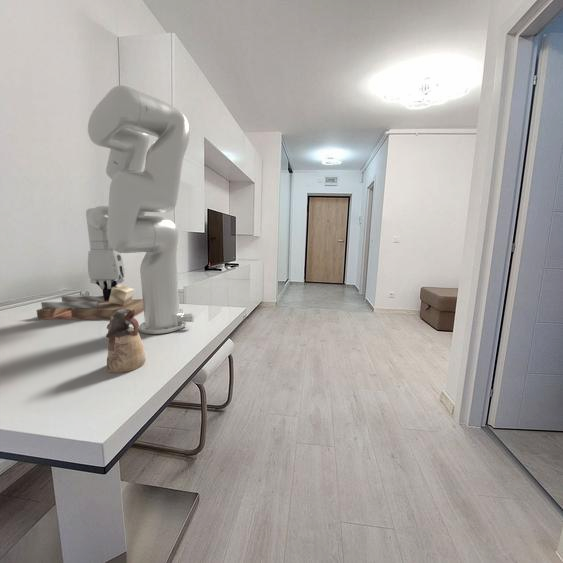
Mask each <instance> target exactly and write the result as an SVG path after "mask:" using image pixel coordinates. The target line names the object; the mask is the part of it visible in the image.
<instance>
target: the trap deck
mask: <svg viewBox="0 0 563 563" xmlns="http://www.w3.org/2000/svg"><path fill="white" fill-rule="evenodd" d="M40 304H41V308H39V309H36V317H37V320H79V319H80V320H92V319H93V320H94V319H95V320H97V319H98V320H100V319H102V320H103V319H109V320H110V318H111V316H112V315H113V314H114V313H115V312H116V311H118V310H121V309H124V310H126V311H127V313H128V312H129V311H130V310H131V309H133V310H135V312H136V313H135V314H134V316H133V318H135V317H136V316H138V315H139V314H142V313H144V307H143V298H141V299H139V298H136V299H135V298H134V299H133V298H132V300H131V302H130V303H128V304H126V305H124V306H122V305H119V304H115V303H112V302H109V301H108V300H107V301H104V297H103V295H61V301H42V302H41V303H40Z"/></svg>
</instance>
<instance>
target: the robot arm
mask: <svg viewBox="0 0 563 563" xmlns="http://www.w3.org/2000/svg"><path fill="white" fill-rule="evenodd" d="M87 134H88V136H89V139H90V141H91V143H93V144H94V145H97V146H99V147H103V148H106V149H110V150H109V154H108V160H107V162H106V163H107V164H106V168H105V171H106V172H105V173H106V175H107V177H109V179H111V182H110V185H109V192H108V194H109V195H108V205H98V206H95V207H90V208H88V209H86V211H85V218H86V226H87V232H88V233H87V234H88V240H89V251H88V254H87V271H88V272H87V274H88V278H89V281H90V283H91V284H95V285H97V287H99V288H100V290H102V296H103V297H104V301H107V300H108V301H109V298H110V293H111V289H112V287H115V286H118V285H120V284H123V283H124V282H125V280H124V278H125V277H126V271H125V265H124V260H123V257H122V254H135V253H145V254H144V257H143V258H142V259H141V263H140V267H139V268H140V269H139V270H140V273H139V274H140V283H141V284H140V285H141V292H142V293H141V294H142V299H143V307H144V311H143V315H144V316H143V317H144V322H142V323H140V325H139V329H138V330H139V331H140V332H141V333H144V334H147V335H157V334H158V335H159V334H160V335H161V334H166V333H167V334H168V333H173V332H177V331H179V330H181V329H183V328H184V327H186V325H187V323H193V322H195V315H194V314H192V313H184V310H183V308H182V309H181V308H180V299H179V298H180V297H179V295H180V294H179V285H178V282H179V281H178V268H177V266H178V265H177V251H178V243H179V231H178V230H179V229H178V227H177V225H176V223H175V222H173V221H172V220H171V219H170V218H168V217H164V216H158V215H146V213H171V212H172V211H173V210H174V209H175V208H176V206H177V203H178V197H179V191H180V190H179V189H180V183H181V177H182V168H183V167H182V166H183V162H184V158H185V155H186V151H187V149H188V145H189V141H190V135H191V134H190V125H189V121H188V119H187V117H186V115H184V113H183V112H182V111H180V109H178V108H177V107H176V106H173V105H171V104H170V103H167V102H165V101H163V100H161V99H159V98H157V97H153V96H151V95H148V94H146V93H144V92H141V91H139V90H136V89H134V88H132V87H129V86H126V85H116V86H114V87H112V88H111V89H110V90H109V91H108V92H107V93H106V94H105V96H104V97H103V98H102V99H101V100H100V101H99V102H98V103H97V104H96V106H95V108H94V109H93V110H92V112H91V114H90V116H89V120H88V122H87ZM150 136H153V137H155V138H157V139H155V141H154V142H153V143H152V144H151V145H150V146H149V143H150ZM144 165H145V166H144ZM143 166H144V169H143ZM142 170H143V171H142ZM121 253H122V254H121Z"/></svg>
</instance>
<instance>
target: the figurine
mask: <svg viewBox="0 0 563 563" xmlns="http://www.w3.org/2000/svg"><path fill="white" fill-rule="evenodd" d="M135 313H136V312H135V310H133V309H131V310H130V311H129V312H128V313H127V311H126V310H124V309H121V310H118V311H116V312H115V313H114V314H113V315H112V316H111V318H110V319H109V323H108V324H107V326H106V329H107V333H106V335H105V337H106V338H108V343H107V358H106V367H107V371H108V372H109V373H113V374H121V373H127V372H131V371H134V370H137V369H139V368H141V367H143V366H144V365H145V363H146V361H147V357H146V356H147V355H146V351H145V347H144V343H143V341H142V338H141V335H140V333H139V330H140V329H139V326H140V325H139V322H138V319H136V318H135V316H134V314H135ZM133 316H134V317H133ZM130 325H132V327H131V326H130Z"/></svg>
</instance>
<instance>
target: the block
mask: <svg viewBox="0 0 563 563" xmlns="http://www.w3.org/2000/svg"><path fill="white" fill-rule="evenodd" d="M134 292H135V288H131V287H128V286H125V285H122V284H117V285H116V286H115V287H112V289H111V293H110V298H109V302H112V303H115V304H119V305H122V306H124V305H126V304H128V303H130V302H131V300H132V299H133V297H134V296H133V295H134Z"/></svg>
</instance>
